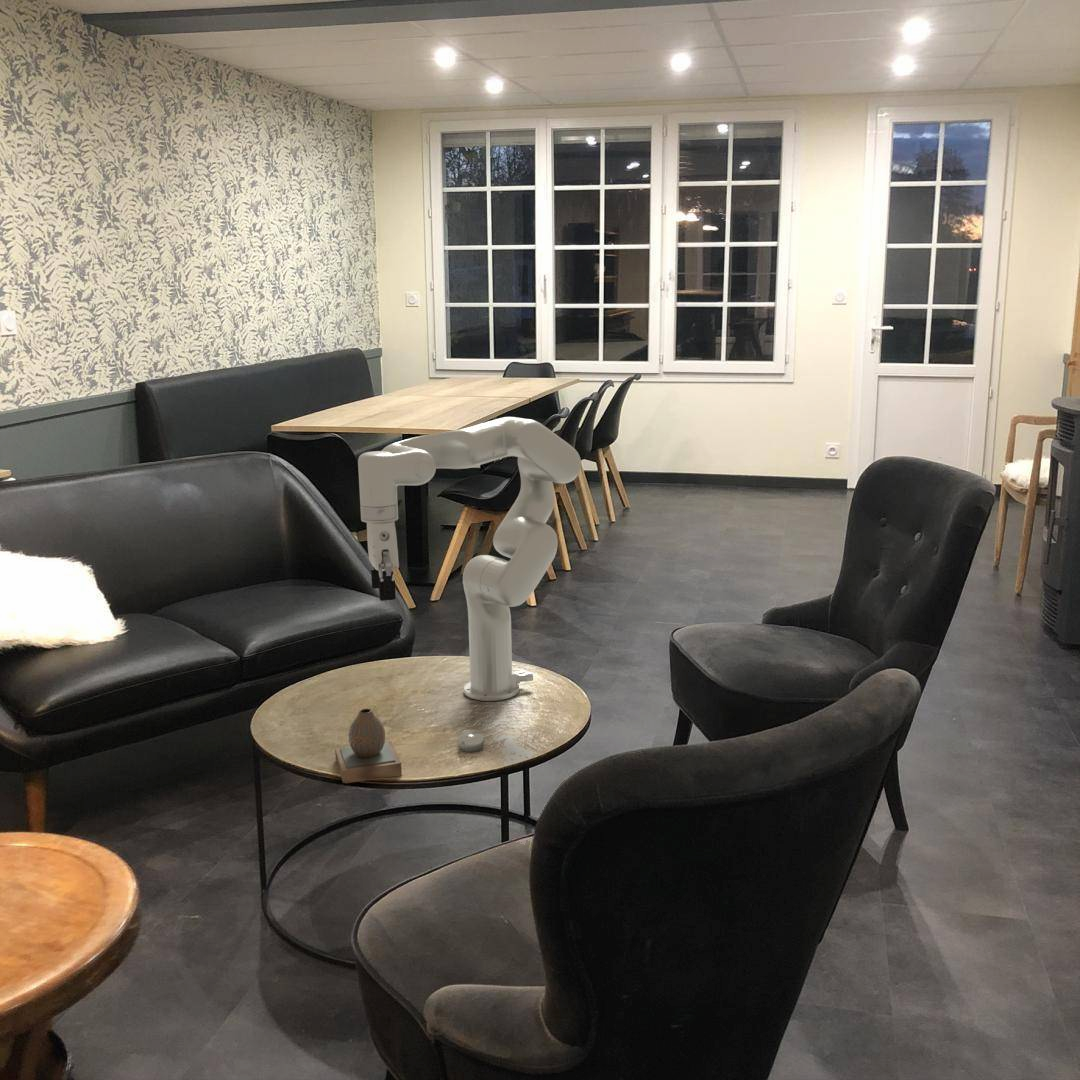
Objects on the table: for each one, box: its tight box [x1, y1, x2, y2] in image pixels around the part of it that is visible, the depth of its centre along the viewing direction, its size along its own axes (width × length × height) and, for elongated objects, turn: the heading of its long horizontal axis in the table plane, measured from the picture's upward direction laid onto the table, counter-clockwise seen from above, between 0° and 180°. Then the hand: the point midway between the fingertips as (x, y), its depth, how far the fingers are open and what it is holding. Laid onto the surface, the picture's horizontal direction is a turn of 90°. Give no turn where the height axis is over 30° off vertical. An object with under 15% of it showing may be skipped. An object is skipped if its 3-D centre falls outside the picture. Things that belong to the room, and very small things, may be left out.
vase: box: [348, 708, 386, 758], centre depth 213 cm, size 7×7×9 cm
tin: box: [457, 729, 485, 754], centre depth 222 cm, size 5×5×3 cm
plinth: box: [334, 740, 403, 784], centre depth 214 cm, size 11×11×3 cm
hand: (383, 593), depth 230 cm, fingers open, 9 cm apart
